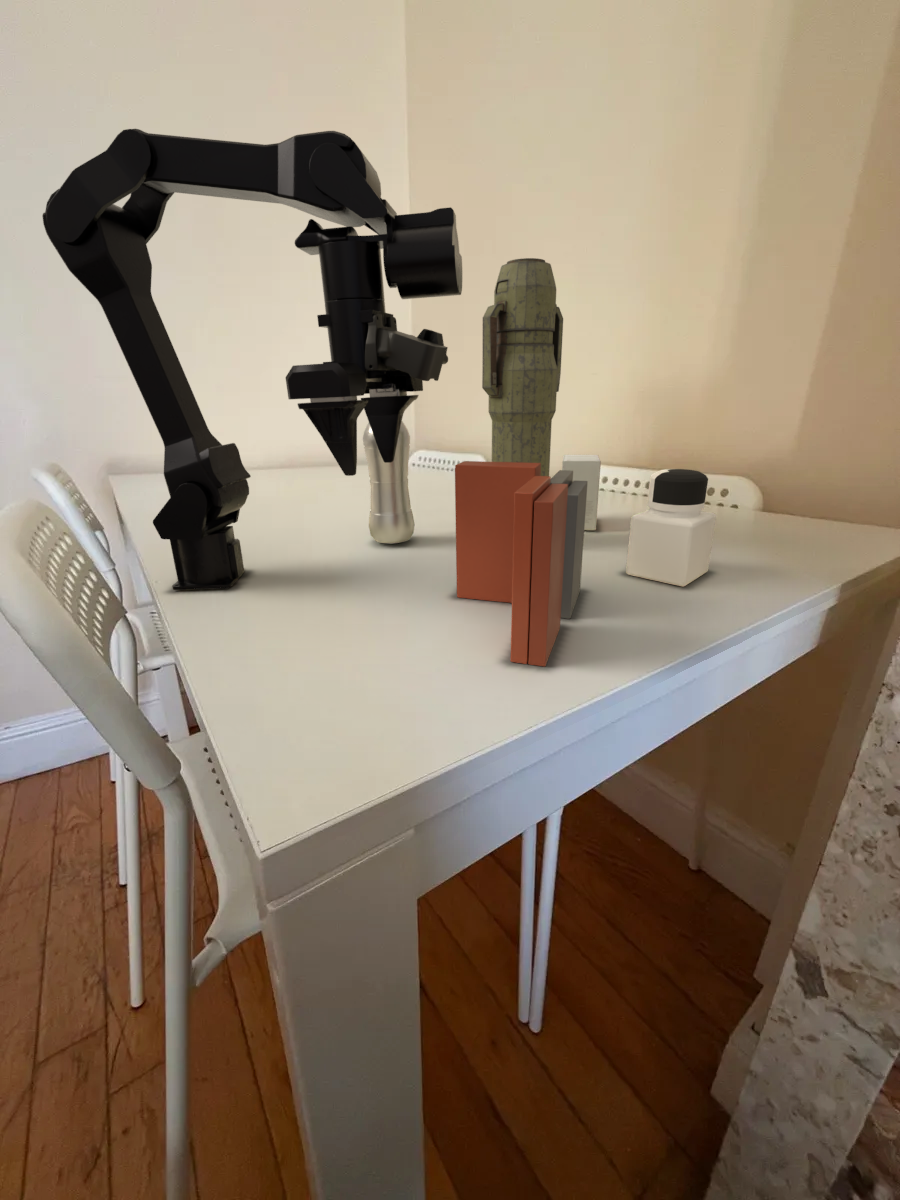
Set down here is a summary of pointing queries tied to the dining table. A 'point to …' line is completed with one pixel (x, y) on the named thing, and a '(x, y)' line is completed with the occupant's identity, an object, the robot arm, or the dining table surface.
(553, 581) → the rust books
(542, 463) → the olive green military canister
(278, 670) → the dining table surface
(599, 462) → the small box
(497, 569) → the rust book
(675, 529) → the medicine bottle
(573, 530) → the grey books
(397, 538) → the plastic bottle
